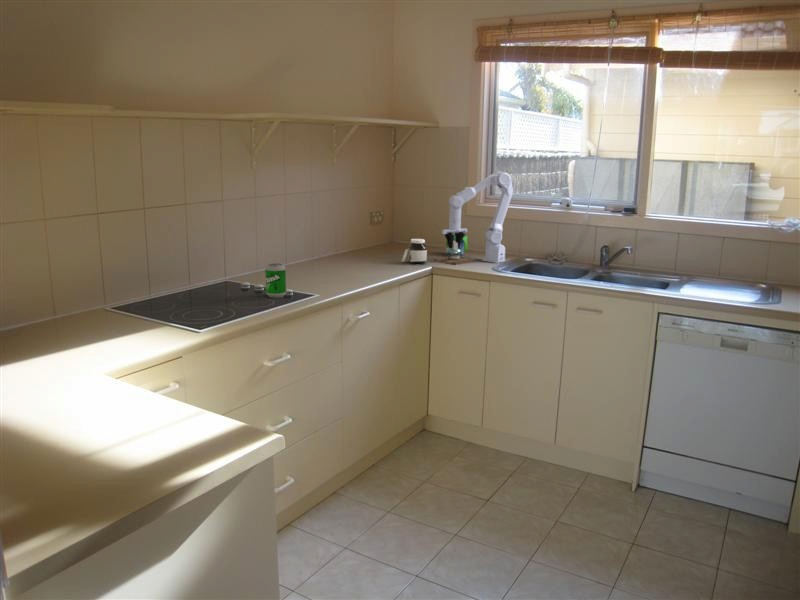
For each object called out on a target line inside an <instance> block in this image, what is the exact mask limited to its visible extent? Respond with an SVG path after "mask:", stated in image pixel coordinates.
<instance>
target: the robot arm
mask: <svg viewBox="0 0 800 600" xmlns="http://www.w3.org/2000/svg"><path fill="white" fill-rule="evenodd" d="M512 180H513V179H512V178H511V176H510V174H509V173H508V172H502V171H495V172H494V173H492V174H490V175H488V176H487V177H486V178H484V179H482V180H481V181H480V182H478V183H477V184H475V185H474V186H465V187H464V189H463V190H461V191H460V192H456V193H455V195H452V196H451V197H449V199H448V201H447V202H448V205H449V218H448V219H449V221H448V222H449V223H448V228H446V229H442V230H441V234H442V235H444V237H445V239H446V241H447V242H448V246H449V247H448V248H452V247H453V239H454V236H455V238H456V242H457V243H458V248H460V244H461V241H462V239H463V237H464V236H466V235H465V234H466V233H468V228H466V227H464V228H461V227H462V207H463V205H464V204H466V203H467V202H469V201H470V200H472V199H473V198H475V197H476V195H477V193H479V192H481V191H483V189H485V188H487V187H489V186H498V188H499V189H500V190H499V191H501V194H500V198H499V200H498V203H497V206H496V208H495V209H496V210H495V212H494V216H493V220H492V221H491V224H490V225H489V226H488V229H487V230H486V231H485V233H484V236H485V240H486V241H485V256H484V258H483V259H481V261H483V262H489V263H495V264H499V263H503V262H506V247H505V245H504V244H501V241H502V239H503V231H504V229H503V224H504V221H505V219H506V215H507V212H508V209H509V206H510V202H511V200H512V198H513V194H514V188H513V183H512V182H513V181H512Z"/></svg>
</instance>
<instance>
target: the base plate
mask: <svg viewBox="0 0 800 600" xmlns="http://www.w3.org/2000/svg"><path fill="white" fill-rule="evenodd" d="M436 261H439V262H438V263H442V262H445V263H444V264H448V263H451V264H450V265H453V264H458V265H462V264H461V263H463V264H467V262H469V263H472V262H473V263H474V259H473V258H465V257H461V256H460V255H448V254H447V256H443V257H438V258H433V262H436Z"/></svg>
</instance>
